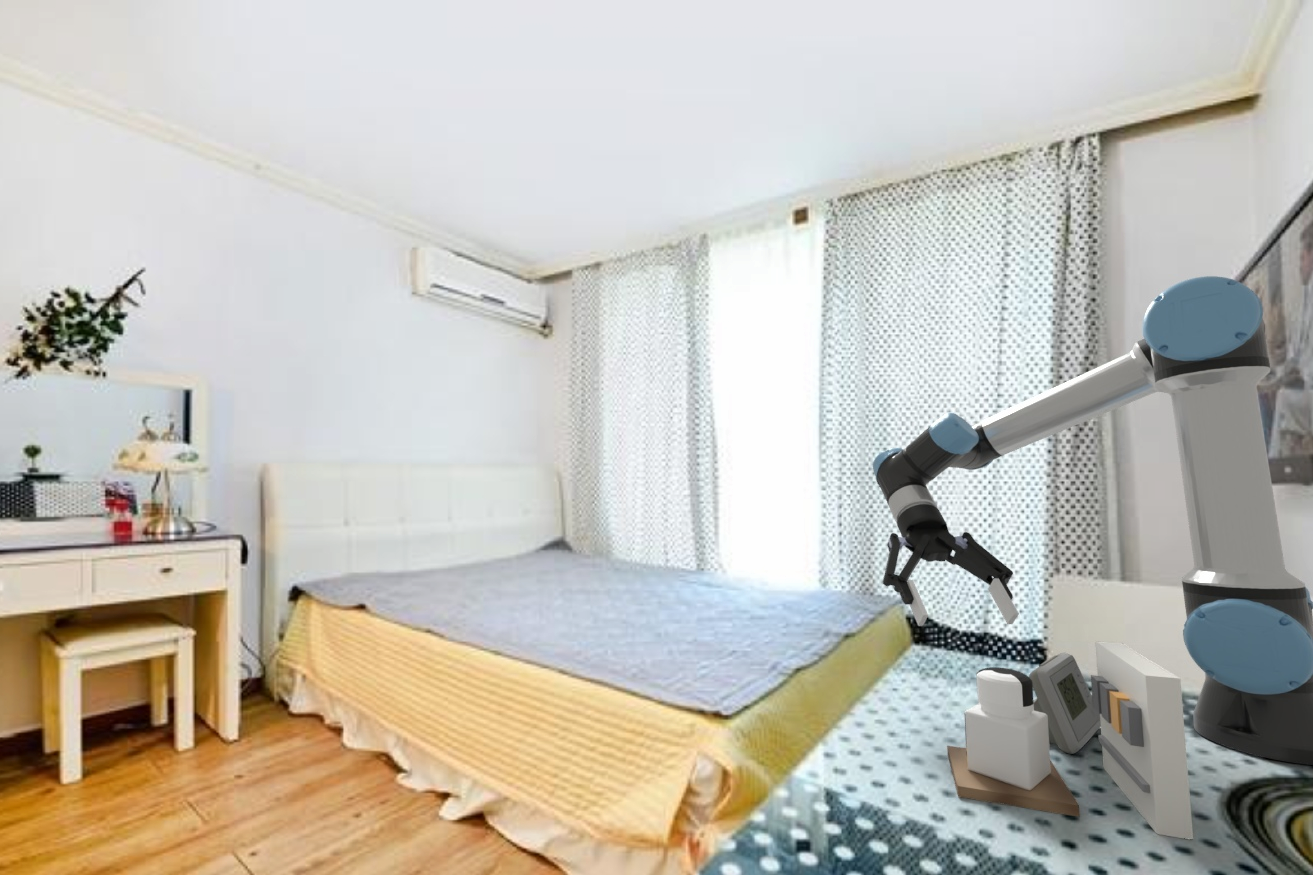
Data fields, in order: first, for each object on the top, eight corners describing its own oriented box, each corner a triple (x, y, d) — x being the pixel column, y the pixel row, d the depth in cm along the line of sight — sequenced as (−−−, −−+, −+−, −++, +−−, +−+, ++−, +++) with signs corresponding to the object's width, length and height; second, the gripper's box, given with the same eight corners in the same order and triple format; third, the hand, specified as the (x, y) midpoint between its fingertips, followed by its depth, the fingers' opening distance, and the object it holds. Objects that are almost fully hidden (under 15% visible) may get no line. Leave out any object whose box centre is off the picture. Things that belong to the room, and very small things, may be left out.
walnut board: (1050, 769, 76) (1050, 759, 76) (1080, 817, 65) (1079, 805, 65) (947, 754, 80) (947, 745, 80) (958, 796, 69) (957, 785, 69)
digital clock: (1073, 760, 79) (1068, 678, 80) (1004, 736, 86) (1000, 662, 87) (1127, 735, 87) (1122, 661, 88) (1060, 716, 95) (1056, 647, 96)
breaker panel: (1131, 772, 75) (1122, 643, 77) (1193, 840, 60) (1180, 678, 62) (1092, 766, 77) (1084, 640, 78) (1143, 831, 62) (1131, 674, 63)
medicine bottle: (989, 754, 78) (984, 660, 79) (1051, 773, 72) (1046, 672, 73) (965, 770, 73) (961, 670, 74) (1030, 792, 68) (1024, 684, 69)
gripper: (979, 530, 108) (1040, 632, 91) (843, 532, 108) (879, 635, 91) (994, 500, 103) (1061, 603, 87) (851, 503, 103) (891, 606, 86)
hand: (968, 620), depth 89 cm, fingers open, 13 cm apart
